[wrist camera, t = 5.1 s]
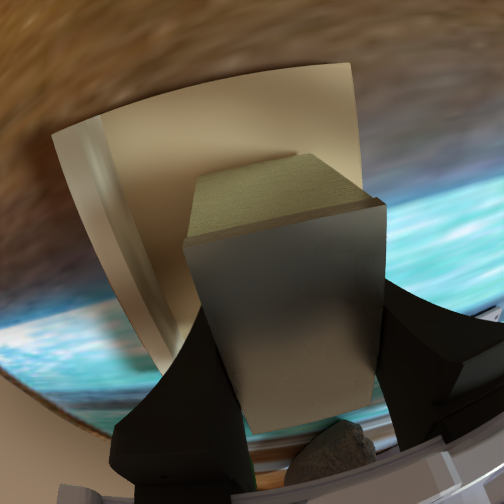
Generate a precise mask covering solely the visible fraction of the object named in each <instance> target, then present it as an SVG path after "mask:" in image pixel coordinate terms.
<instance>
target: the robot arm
mask: <svg viewBox="0 0 504 504" xmlns="http://www.w3.org/2000/svg"><path fill="white" fill-rule="evenodd" d="M501 311H502V309H501V308H500V307H499V306H498V307H495V308H493V309H491V310H489V311H487V312H485V313H483V314H481V315H478V316H476V317H471V316H467V315H463V314H460V313H457V312H454V311H451V310H448V309H445V308H442V307H440V306H437V305H435V304H432V303H430V302H428V301H426V300H424V299H421V298H419V297H417V296H415V295H413V294H411V293H410V292H408V291H406V290H404V289H402V288H400V287H399V286H397V285H395V284H394V283H392V282H390V281H389V280H387V279H386V278H385V286H384V300H383V312H382V323H381V333H380V342H379V350H378V358H377V366H376V373H375V374H376V376H377V379H378V382H379V384H380V387H381V390H382V392H383V395H384V398H385V401H386V404H387V407H388V410H389V413H390V417H391V420H392V423H393V427H394V430H395V434H396V438H397V442H398V446H399V450H400V453H398V454H396V455H393V456H390V457H388V458H385V459H382V460H380V461H377V462H374V463H371V464H368V465H365V466H362V467H359V468H356V469H353V470H350V471H346V472H343V473H339V474H336V475H332V476H329V477H325V478H321V479H317V480H313V481H309V482H305V483H300V484H296V485H291V486H286V487H281V488H275V489H270V490H264V491H257V490H256V485H255V481H254V476H253V472H252V467H251V462H250V457H249V451H248V446H247V441H246V435H245V429H244V423H243V417H242V411H241V406H240V403H239V401H238V399H237V396H236V394H235V391H234V389H233V386H232V384H231V381H230V379H229V376H228V374H227V371H226V369H225V366H224V364H223V361H222V359H221V356H220V353H219V351H218V348H217V346H216V343H215V340H214V338H213V335H212V332H211V330H210V327H209V324H208V321H207V319H206V316H205V313H204V310H203V308H202V305H201V306H200V309H199V311H198V314H197V316H196V319H195V321H194V323H193V325H192V328H191V330H190V332H189V334H188V336H187V338H186V340H185V342H184V344H183V345H182V347H181V349H180V351H179V353H178V354H177V356H176V358H175V359H174V361H173V362H172V364H171V365H170V367H169V368H168V370H167V371H166V373H165V374H164V375H163V377H162V378H161V379H160V381H159V382H158V383H157V385H156V386H155V387H154V388H153V389H152V391H151V392H150V393H149V394H148V395H147V396H146V397H145V398H144V399H143V400H142V401H141V402H140V403H139V405H137V406H136V407H135V408H134V409H133V410H132V411H131V412H130V413H129V414H128V415H127V416H125V417H124V418H123V419H122V420H121V421H120V422H119V423H117V424H116V425H115V427H114V431H113V435H112V440H111V448H110V456H109V464H110V467H111V468H112V469H113V470H114V471H115V472H117V473H118V474H119V475H121V476H122V477H124V478H125V479H127V480H128V481H130V482H131V483H133V484H134V485H135V493H134V498H124V497H111V496H101V495H100V494H99V493H97V492H96V491H94V490H92V489H89V488H84V487H79V486H72V485H65V484H60V485H59V491H58V498H57V504H504V323H501V322H497V321H498V319H499V316H500V314H501Z"/></svg>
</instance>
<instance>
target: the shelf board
mask: <svg viewBox="0 0 504 504" xmlns="http://www.w3.org/2000/svg"><path fill="white" fill-rule="evenodd" d="M51 136H52V139H53V143H54V146H55V149H56V152H57V155H58V158H59V161H60V164H61V167H62V170H63V173H64V176H65V178H66V181H67V184H68V187H69V189H70V192H71V195H72V197H73V200H74V202H75V205H76V207H77V210H78V212H79V215H80V217H81V220H82V222H83V225H84V227H85V229H86V232H87V234H88V236H89V239H90V241H91V243H92V245H93V248H94V250H95V252H96V254H97V256H98V258H99V261H100V263H101V265H102V267H103V269H104V271H105V273H106V275H107V277H108V281H109V283H110V285H111V287H112V289H113V291H114V293H115V295H116V297H117V299H118V301H119V302H120V304H121V306H122V308H123V310H124V312H125V314H126V316H127V317H128V319H129V321H130V323H131V325H132V326H133V328H134V330H135V332H136V334H137V335H138V337H139V339H140V340H141V342H142V344H143V346H144V347H145V348H146V350H147V351H148V353H149V355H150V356H151V358H152V360H153V361H154V363H155V364H156V366H157V368H158V369H159V371H160V372H161V375H162V377H163V375H164V374H165V373H166V371H167V370H168V368H169V367H170V365H171V364H172V362H173V361H174V359H175V358H176V356H177V354H178V353H179V351H180V349H181V347H182V345H183V344H184V342H185V340H186V338H187V336H188V334H189V332H190V330H191V328H192V325H193V323H194V321H195V319H196V316H197V314H198V311H199V309H200V306H201V302H200V299H199V296H198V293H197V291H196V288H195V285H194V282H193V279H192V276H191V273H190V270H189V267H188V264H187V261H186V258H185V255H184V252H183V249H182V248H183V242H184V238H187V235H188V229H189V223H190V216H191V210H192V204H193V198H194V193H195V187H196V181H197V176H201V175H205V174H210V173H214V172H218V171H223V170H227V169H232V168H236V167H241V166H246V165H250V164H255V163H260V162H265V161H270V160H275V159H280V158H286V157H291V156H297V155H302V154H308V153H311V154H313V155H314V156H316V157H317V158H319V159H320V160H322V161H323V162H325V163H326V164H327V165H329V166H330V167H332V168H333V169H335V170H336V171H337V172H339V173H340V174H342V175H343V176H344V177H346V178H347V179H348V180H350V181H351V182H353V183H354V184H355V185H357V186H358V187H359V188H361V189H362V171H361V156H360V143H359V132H358V122H357V112H356V103H355V95H354V87H353V80H352V73H351V66H350V63H336V64H323V65H312V66H302V67H293V68H285V69H278V70H271V71H264V72H258V73H252V74H246V75H241V76H236V77H231V78H226V79H221V80H216V81H212V82H207V83H203V84H199V85H194V86H190V87H186V88H183V89H179V90H175V91H171V92H168V93H164V94H161V95H157V96H154V97H151V98H147V99H144V100H141V101H138V102H135V103H132V104H129V105H126V106H123V107H120V108H117V109H114V110H111V111H109V112H106V113H103V114H101V115H98V116H95V117H93V118H90V119H87V120H85V121H82V122H80V123H77V124H75V125H72V126H70V127H68V128H65V129H63V130H61V131H58V132H56V133H54V134H52V135H51Z"/></svg>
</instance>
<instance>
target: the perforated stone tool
mask: <svg viewBox="0 0 504 504" xmlns="http://www.w3.org/2000/svg"><path fill="white" fill-rule="evenodd" d="M377 461H378V459H377V457H376V452H375V447H374V444H373V442H372V441H371V440H370V439H368V438H366V437H365V436H364V435H363V429H362V427H361V426H360V425H359V424H355V423H353V422H349V421H347V420H341V421H340V422H338V423H336V424H334V425H333V426H331V427H330V428H328V429H326V430H325V431H323V432H322V433H320V434H319V435H318V436H317V437H316V438H314V440H312V441H311V442H310V443H309V444H308V445H307V446H306V447H305V448H304V449H303V450H302V451H301V452H300V453H299V454H298V455H297V457H296V458H295V459H294V460H293V461H292V463H291V464H290V466H289V468H288V470H287V472H286V475H285V479H284V487H286V486H291V485H296V484H300V483H305V482H309V481H313V480H317V479H321V478H325V477H329V476H332V475H336V474H339V473H343V472H346V471H350V470H353V469H356V468H359V467H362V466H365V465H368V464H371V463H374V462H377Z"/></svg>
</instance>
